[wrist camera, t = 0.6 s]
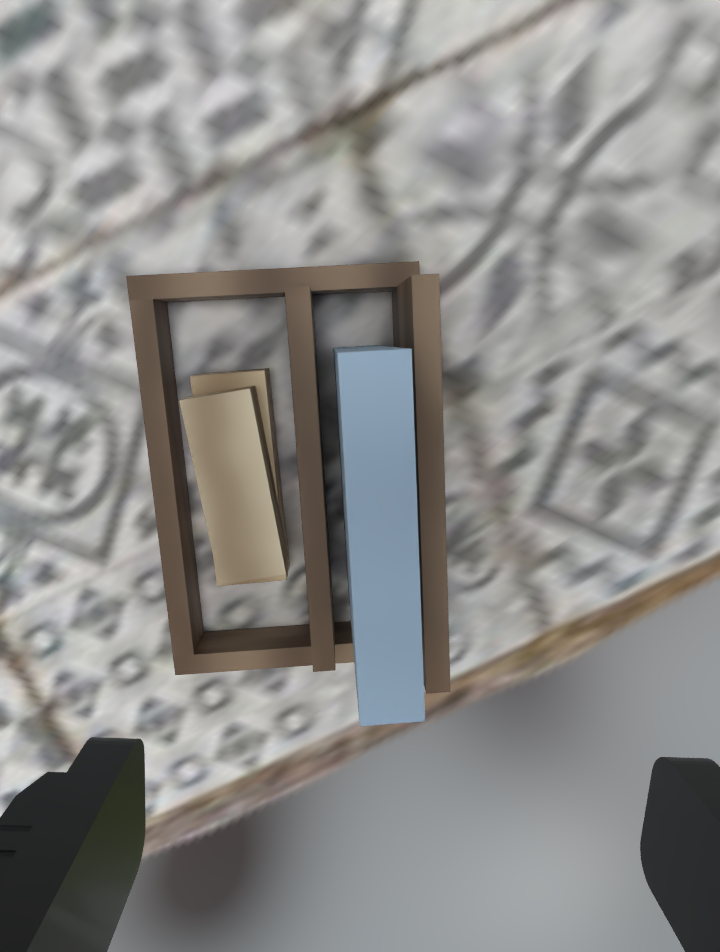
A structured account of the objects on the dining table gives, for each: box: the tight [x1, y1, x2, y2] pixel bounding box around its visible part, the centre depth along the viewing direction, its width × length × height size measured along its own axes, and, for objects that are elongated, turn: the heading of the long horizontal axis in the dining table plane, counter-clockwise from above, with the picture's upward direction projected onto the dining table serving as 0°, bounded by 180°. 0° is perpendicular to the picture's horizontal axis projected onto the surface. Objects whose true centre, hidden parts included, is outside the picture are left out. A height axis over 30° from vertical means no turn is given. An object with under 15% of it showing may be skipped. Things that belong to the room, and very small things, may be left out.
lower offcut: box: [190, 368, 289, 586], centre depth 38 cm, size 4×12×3 cm, turn 4°
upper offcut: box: [179, 386, 289, 585], centre depth 35 cm, size 4×10×2 cm, turn 9°
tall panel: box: [334, 345, 425, 726], centre depth 31 cm, size 2×14×16 cm, turn 3°
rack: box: [126, 261, 450, 694], centre depth 34 cm, size 15×22×9 cm
